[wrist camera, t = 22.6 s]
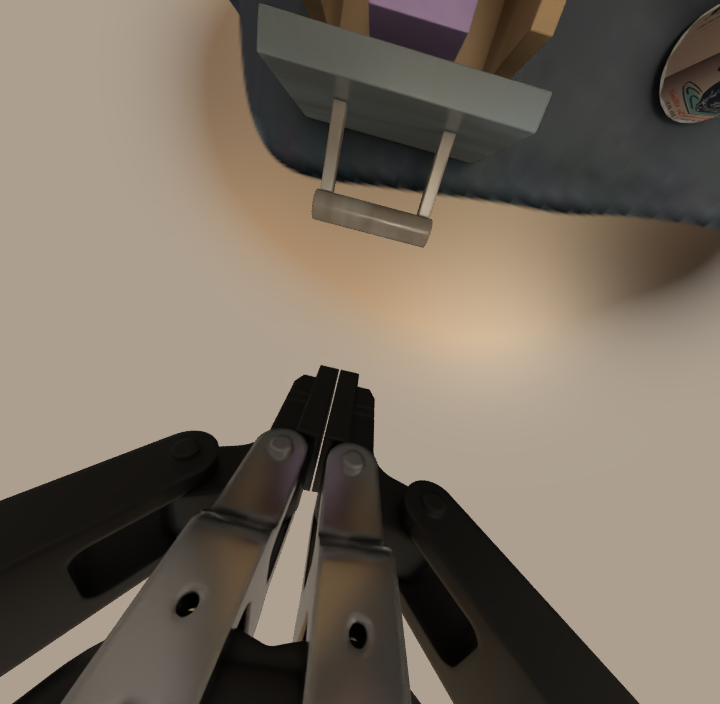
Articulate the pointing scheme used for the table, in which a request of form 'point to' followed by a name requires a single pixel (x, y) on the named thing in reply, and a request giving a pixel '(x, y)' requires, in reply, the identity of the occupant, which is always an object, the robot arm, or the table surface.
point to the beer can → (694, 72)
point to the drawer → (407, 93)
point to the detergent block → (423, 24)
